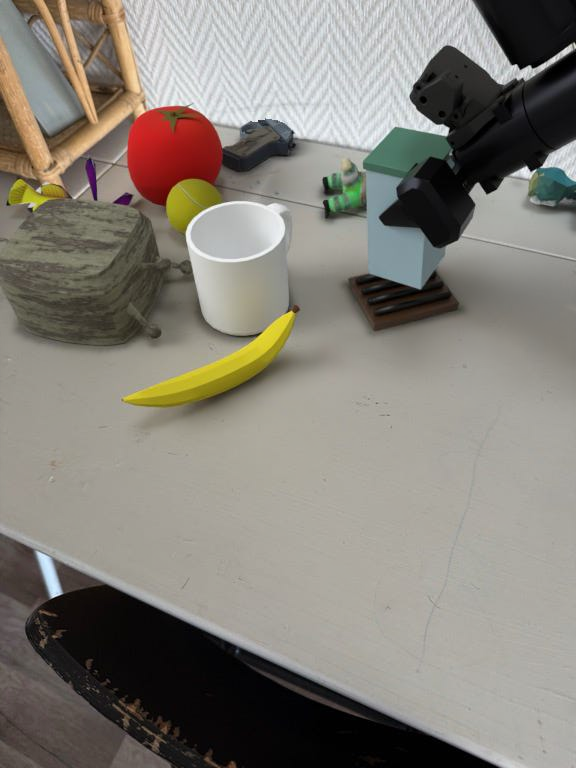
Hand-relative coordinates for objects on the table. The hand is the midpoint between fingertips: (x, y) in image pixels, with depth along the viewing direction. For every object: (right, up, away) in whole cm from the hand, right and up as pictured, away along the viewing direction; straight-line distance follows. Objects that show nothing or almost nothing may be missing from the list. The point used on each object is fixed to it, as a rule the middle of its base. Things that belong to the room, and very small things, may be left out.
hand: (397, 201), depth 58 cm
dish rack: (+2, -8, +10) cm, 13 cm away
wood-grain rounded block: (-23, -7, +6) cm, 25 cm away
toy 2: (-6, +8, +20) cm, 22 cm away
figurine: (+28, +7, +18) cm, 34 cm away
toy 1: (-37, +10, +19) cm, 43 cm away
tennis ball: (-20, +2, +14) cm, 25 cm away
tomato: (-26, +9, +25) cm, 36 cm away
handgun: (-22, +17, +30) cm, 41 cm away
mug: (-15, -8, +10) cm, 20 cm away
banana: (-17, -18, +2) cm, 25 cm away
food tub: (+2, -5, +5) cm, 7 cm away
